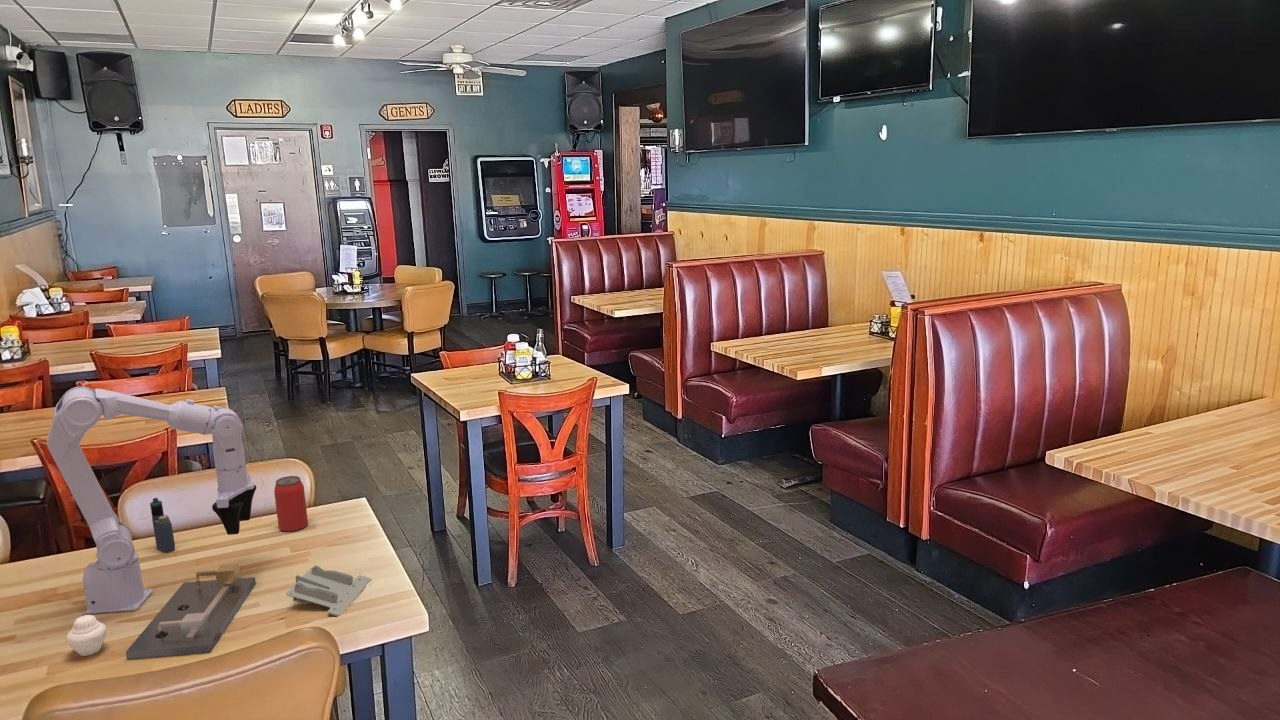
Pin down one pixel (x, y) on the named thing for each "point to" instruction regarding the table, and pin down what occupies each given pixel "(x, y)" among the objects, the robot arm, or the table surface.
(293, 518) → the beer can
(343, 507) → the table surface
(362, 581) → the metal bracket
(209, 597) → the plate
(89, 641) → the muffin
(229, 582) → the brass slider
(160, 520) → the vaping device
